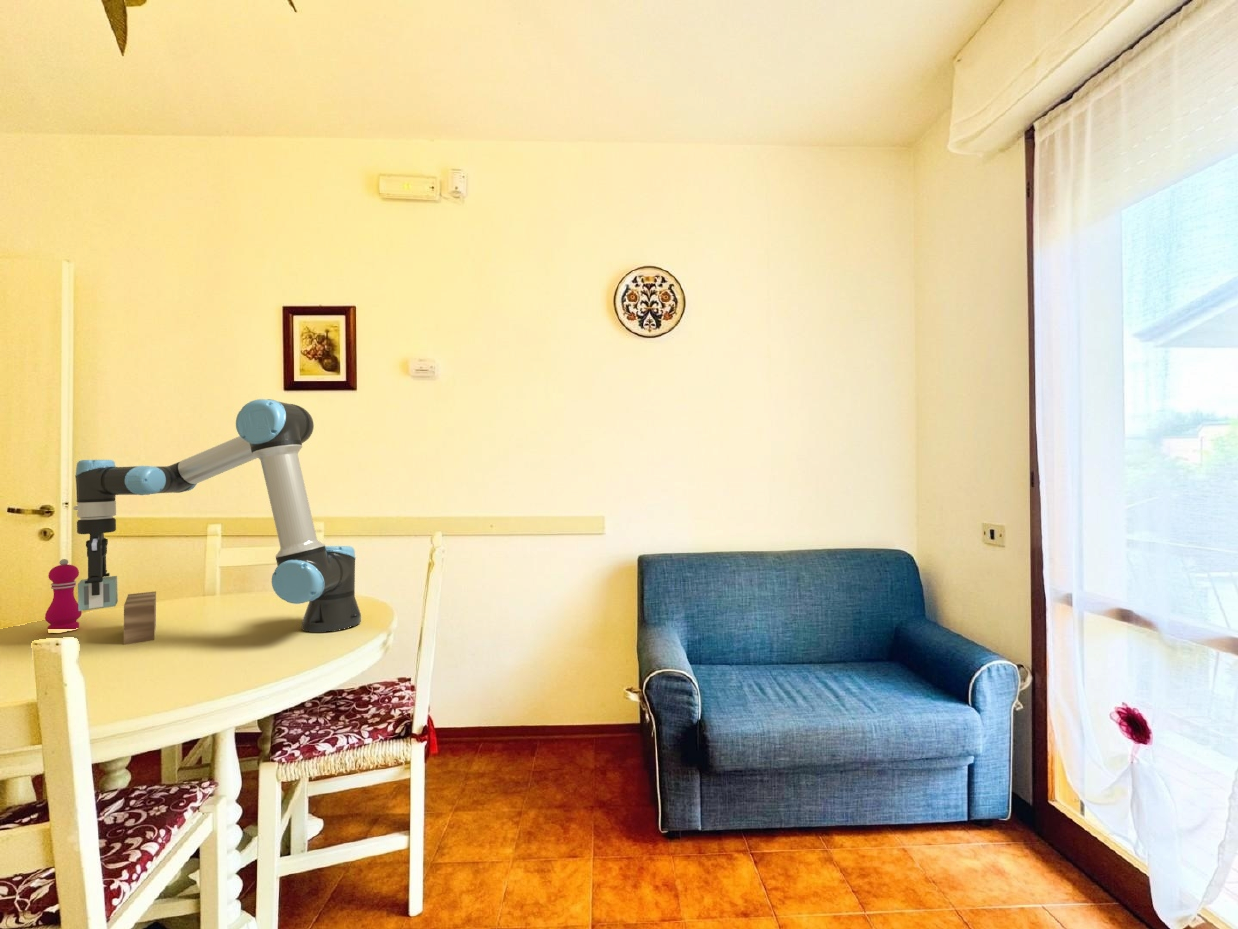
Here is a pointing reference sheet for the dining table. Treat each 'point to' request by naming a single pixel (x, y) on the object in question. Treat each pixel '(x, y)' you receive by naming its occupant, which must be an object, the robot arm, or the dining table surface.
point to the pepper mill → (63, 597)
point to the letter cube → (108, 593)
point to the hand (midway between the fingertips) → (98, 604)
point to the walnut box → (139, 617)
